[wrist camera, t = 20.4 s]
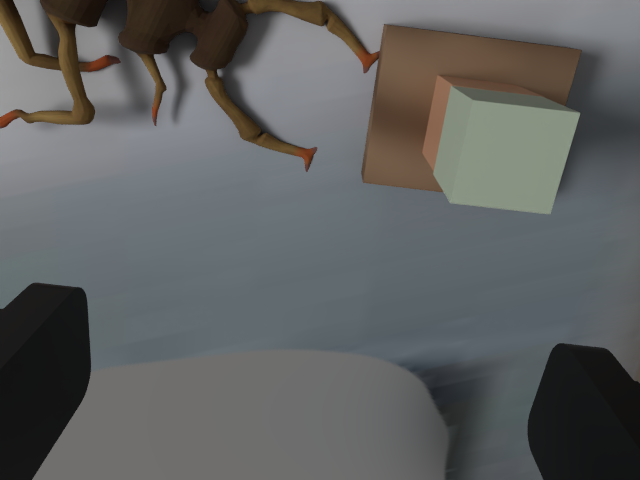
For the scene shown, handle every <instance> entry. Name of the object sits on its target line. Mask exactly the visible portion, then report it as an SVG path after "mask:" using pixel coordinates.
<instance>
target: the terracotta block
mask: <svg viewBox="0 0 640 480" xmlns="http://www.w3.org/2000/svg"><path fill="white" fill-rule="evenodd" d="M451 86H458V87H466V88H475V89H483V90H491V91H500V92H508V93H517V94H525V95H533V96H541V95H539V94H536V93H534V92H532V91H529V90H527V89H525V88H522V87H520V86H517V85H513V84H505V83H497V82H489V81H481V80H474V79H466V78H458V77H450V76H442V75H437V80H436V85H435V90H434V95H433V100H432V105H431V110H430V115H429V121H428V126H427V131H426V136H425V141H424V146H423V151H422V153H423V155H424V157H425V158H426V160H427V162H428V163H429V165H430V166H431V168H432V170H433V171H434V168H435V163H436V158H437V153H438V148H439V143H440V138H441V133H442V128H443V123H444V118H445V113H446V108H447V103H448V98H449V93H450V88H451ZM542 97H544V96H542Z"/></svg>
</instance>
